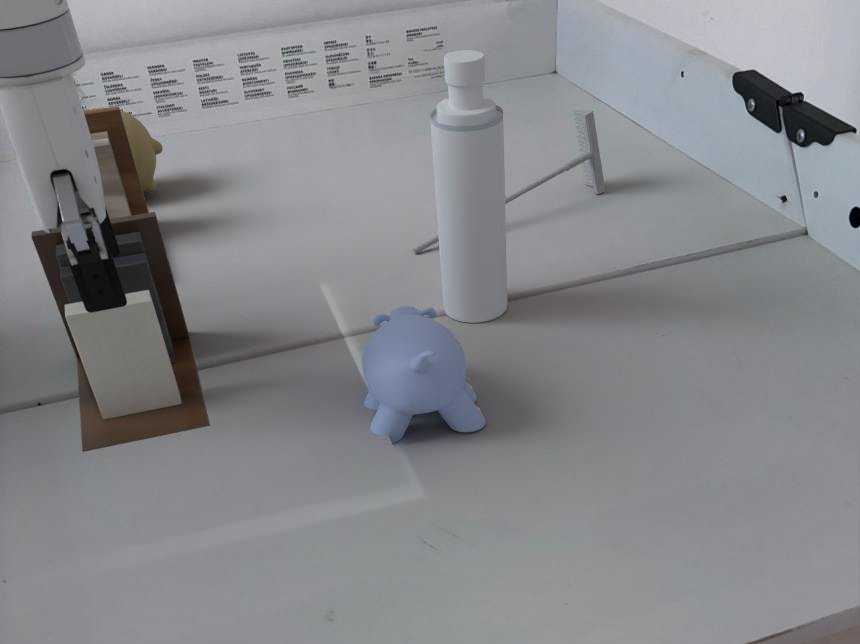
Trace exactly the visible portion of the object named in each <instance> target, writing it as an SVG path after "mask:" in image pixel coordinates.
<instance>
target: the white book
mask: <svg viewBox="0 0 860 644" xmlns="http://www.w3.org/2000/svg"><path fill="white" fill-rule="evenodd" d="M125 296H126V299H127V304H126V305H125V306H123V307H118V308H113V309H108V310H103V311H98V312H92V313H90V312H88V311H86V309H85V307H84V304H83V302H77V303H71V304H66V305H65V317H66V320H67V323H68V325H69V328H70V331H71V333H72V336H73V339H74V342H75V344H76V347H77V350H78V352H79V355H80V358H81V360H82V363H83V366H84V369H85V371H86V374H87V377H88V379H89V382H90V385H91V387H92V390H93V393H94V396H95V398H96V401H97V404H98V406H99V409H100V412H101V414H102V417H103V419H104V420H105V419H110V418H115V417H120V416H125V415H130V414H135V413H140V412H145V411H150V410H155V409H160V408H165V407H170V406H175V405H180V404H182V402H181V397H180V392H179V389H178V385H177V382H176V379H175V375H174V372H173V369H172V365H171V362H170V359H169V355H168V352H167V349H166V345H165V342H164V338H163V335H162V332H161V328H160V325H159V322H158V318H157V315H156V312H155V308H154V305H153V302H152V298H151V295H150V292H149V290H145V291H139V292H133V293H128V294H125Z"/></svg>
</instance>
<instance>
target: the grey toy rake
mask: <svg viewBox="0 0 860 644" xmlns="http://www.w3.org/2000/svg"><path fill="white" fill-rule="evenodd" d="M571 111H572V112H574V113H573V114H572V116H574V118H573V120H574V121H576V122H574V125H576V127H575V130H577V131H576V132H575V133H576V134H578V135H577V136H576V138H578V140H577V143H580V144H578V148H579V147H580V148H579V152H580V153H579V155H578V156H576V157H574V158H572V159H570V160H569V161H566V162H565V163H564V164H563V165H562V166H560V167H559V168H557V169H555V170H552V172H549V173H547V174H546V175H543V176H542V177H540V178H538V179H536V180H535V181H533V182H531V183H529V184H528V185H526V186H523V188H520V189H519V190H516V191H515V192H513V193H511V194H509V195H508V196H505V205H507V204H508V203H510V202H512V201H514V200H515V199H518V198H519V197H521V196H523V195H524V194H526V193H528V192H530V191H532V190H534V189H535V188H537V187H539V186H541V185H543V184H544V183H547V182H548V181H550V180H551V179H553V178H555V177H557V176H559V175H562V174H563V173H564V172H568V171H570V170H572V169H574V168H576V167H577V166H578V165H580V164H582V166H581V168H582V169H584V170H582V172H583V173H585V174H583V177H585V178H584V179H583V180H584V181H585V182H584V185H585V186H589V187H592V191H593V194H596V195H600V194H602V193H604V192H605V191H606V185H605V178H604V173H603V165H602V158H601V153H600V147H599V141H598V140H599V139H598V135H597V128H596V120H595V114H594V111H593V110H590V109H581V108H575V107H574V108H572V110H571ZM437 242H438V243H439V237H438V234H437V235H435V236H433V237H432V238H430V239H428V240H426V241H424V242H422V243H421V244H419V245H416V246H415V247H413V248H412V252H413V254H414V255H416V254H418V253H420V252H422V251H423V250H425V249H427V248H429V247H430V246H432V245H435V244H436V243H437Z"/></svg>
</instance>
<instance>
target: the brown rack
mask: <svg viewBox="0 0 860 644" xmlns="http://www.w3.org/2000/svg"><path fill="white" fill-rule="evenodd" d="M110 222H111V225H112V228H113V231H114V234H115V237H116V240H117V243H118V246H119V250H120V254H119V256H117V257H113V259H114V263H115V266H116V269H117V272H118V275H119V278H120V281H121V284H122V287H123V290H124V293H125V294H128V293H133V292H139V291H145V290H149V292H150V295H151V298H152V302H153V305H154V308H155V312H156V315H157V318H158V322H159V325H160V328H161V332H162V335H163V338H164V342H165V345H166V349H167V352H168V355H169V359H170V362H171V365H172V369H173V372H174V375H175V379H176V382H177V385H178V389H179V392H180V397H181V402H182V404H180V405H175V406H170V407H165V408H160V409H155V410H150V411H145V412H140V413H135V414H130V415H125V416H120V417H115V418H110V419H105V420H104V419H103V417H102V414H101V412H100V409H99V406H98V404H97V401H96V398H95V396H94V393H93V390H92V387H91V385H90V382H89V379H88V377H87V374H86V371H85V369H84V366H83V363H82V360H81V358H80V355H79V352H78V350H77V347H76V344H75V342H74V339H73V336H72V333H71V331H70V328H69V325H68V323H67V320H66V317H65V305H66V304H71V303H77V302H83V301H82V298H81V296H80V293H79V290H78V288H77V285H76V282H75V279H74V277H73V274H72V271H71V268H70V266H69V261H70V260H69V257H68V254H67V251H66V247H65V244H64V240H63V237H62V233H61V230H60V227H58V228H54V229H52V232H51V233H47V232H45V231H44V230H42V229H40V230H34V231H32V232H31V240H32V243H33V245H34V248H35V250H36V253H37V255H38V258H39V261H40V263H41V266H42V269H43V272H44V275H45V277H46V279H47V282H48V286H49V289H50V290H51V293H52V296H53V298H54V301H55V304H56V307H57V309H58V312H59V315H60V317H61V320H62V322H63V325H64V328H65V331H66V333H67V336H68V338H69V341H70V344H71V347H72V349H73V352H74V354H75V355H74V356H75V358H76V368H77V369H76V370H77V384H78V401H79V417H80V433H81V451H82V453H85V452H89V451H94V450H98V449H99V450H100V449H103V448H108V447H109V448H110V447H113V446H118V445H124V444H127V443H132V442H137V441H143V440H148V439H152V438H157V437H162V436H166V435H171V434H177V433H181V432H186V431H191V430H196V429H201V428H206V427H210V426H211V424H210V420H209V415H208V411H207V407H206V402H205V398H204V394H203V390H202V385H201V381H200V377H199V372H198V368H197V364H196V358H195V354H194V350H193V345H192V343H191V338H190V333H189V329H188V325H187V323H186V319H185V315H184V311H183V308H182V304H181V300H180V297H179V293H178V290H177V286H176V282H175V278H174V275H173V271H172V268H171V263H170V261H169V257H168V254H167V250H166V246H165V243H164V239H163V234H162V232H161V228H160V224H159V220H158V217H157V213H156V211H151V212H150V211H149V213H144V214H138V215H132V216H125V217H119V218H113V219H110Z"/></svg>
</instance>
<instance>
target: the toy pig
mask: <svg viewBox="0 0 860 644" xmlns="http://www.w3.org/2000/svg"><path fill="white" fill-rule="evenodd" d="M104 108H108V107H107V106H106V107H102V106H101V107H95V108H92V109H91V110H97V109H104ZM120 111H121V115H122V119H123V122H124V126H125V129H126V133H127V136H128V140H129V143H130V147H131V151H132V154H133V158H134V161H135V165H136V168H137V172H138V175H139V179H140V183H141V186H142V190H143V193H145V192H147V193H150V194H153V193H155V192H157V190H158V185H157V183H156V181H155V180H154V176H155V173H156V168H157V155H159V154H161V153H163V149H164V147H163V145H162V143H161V142H160V141H158V140H157V139H155V138H153V137H152V136H151V134H150V132H149V130H148V129H147V128H146V126H145V125H144V124H143V123H142V122H141V121H140V120H139V119H138V118H136V117H135V116H133V115H132V114H130V113H129V112H126V111H124V110H121V109H120Z"/></svg>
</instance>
